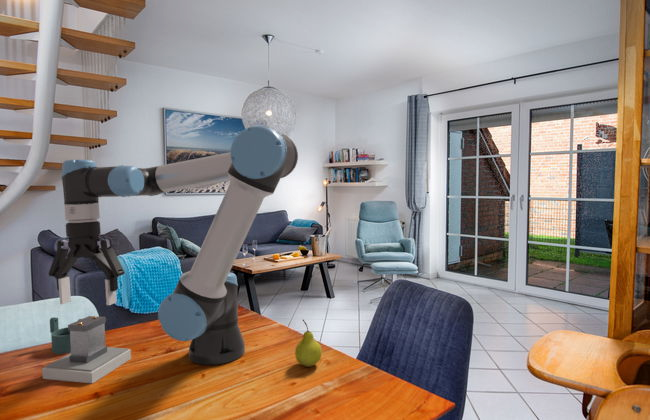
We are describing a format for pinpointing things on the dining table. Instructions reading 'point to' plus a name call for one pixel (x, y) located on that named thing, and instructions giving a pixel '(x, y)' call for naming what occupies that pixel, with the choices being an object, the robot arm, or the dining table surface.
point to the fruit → (308, 350)
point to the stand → (86, 366)
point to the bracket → (59, 337)
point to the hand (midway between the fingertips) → (88, 303)
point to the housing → (87, 339)
